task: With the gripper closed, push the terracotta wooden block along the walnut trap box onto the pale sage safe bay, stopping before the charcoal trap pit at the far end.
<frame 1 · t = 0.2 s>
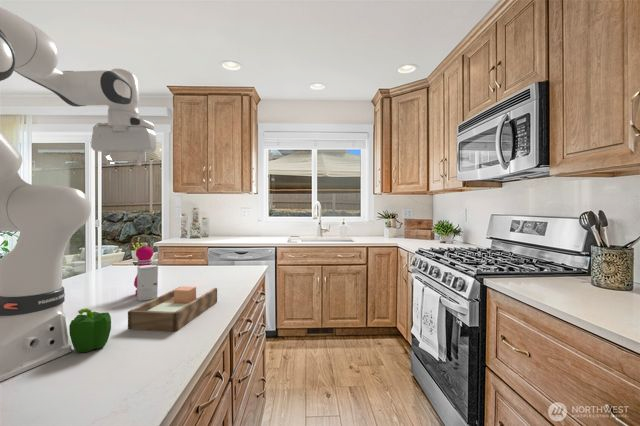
hand: (123, 165, 106), 47 cm above the counter, fingers open, 8 cm apart
bell pepper: (90, 348, 78), on the counter
skincare box: (147, 299, 120), on the counter
pepper mill: (144, 294, 127), on the counter
block: (185, 300, 108), point 3 cm above the counter, touching trap box
trap box: (178, 313, 104), on the counter
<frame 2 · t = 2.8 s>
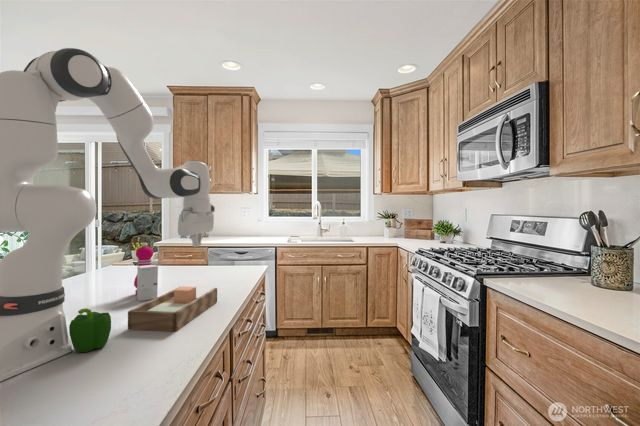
hand: (196, 246, 116), 20 cm above the counter, fingers closed
nothing on the counter moved.
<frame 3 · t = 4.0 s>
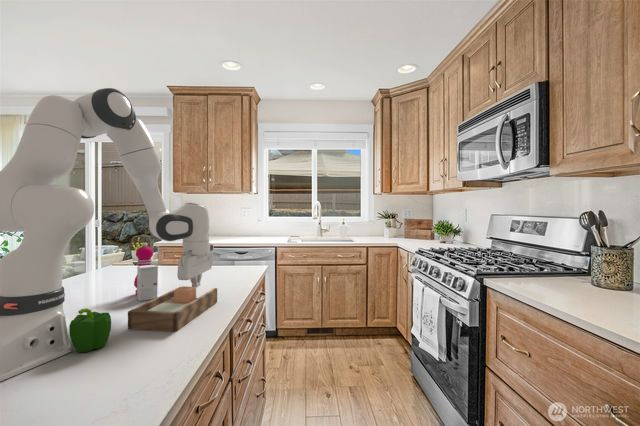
hand: (196, 287, 116), 5 cm above the counter, fingers closed
nothing on the counter moved.
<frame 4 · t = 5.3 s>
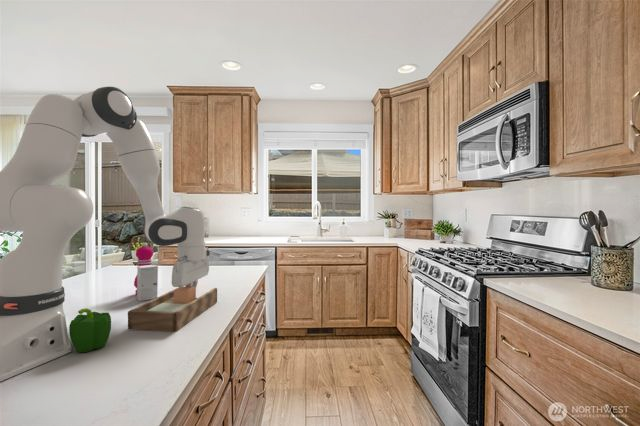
hand: (191, 293, 112), 4 cm above the counter, fingers closed
block: (185, 300, 108), point 3 cm above the counter, touching gripper
everything else where it was.
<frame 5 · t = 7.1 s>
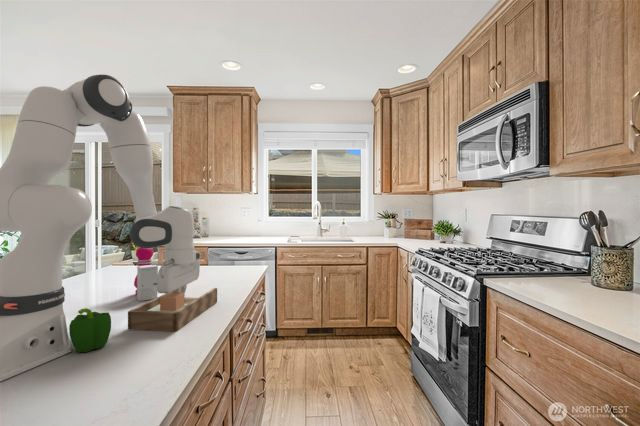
hand: (179, 300, 104), 4 cm above the counter, fingers closed
block: (172, 308, 100), point 3 cm above the counter, touching gripper, trap box
everything else where it was.
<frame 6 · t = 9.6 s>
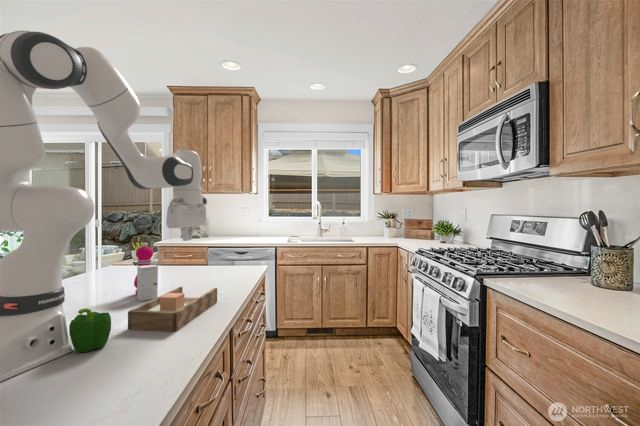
hand: (187, 240, 109), 23 cm above the counter, fingers closed
block: (172, 308, 100), point 3 cm above the counter, touching trap box
everything else where it was.
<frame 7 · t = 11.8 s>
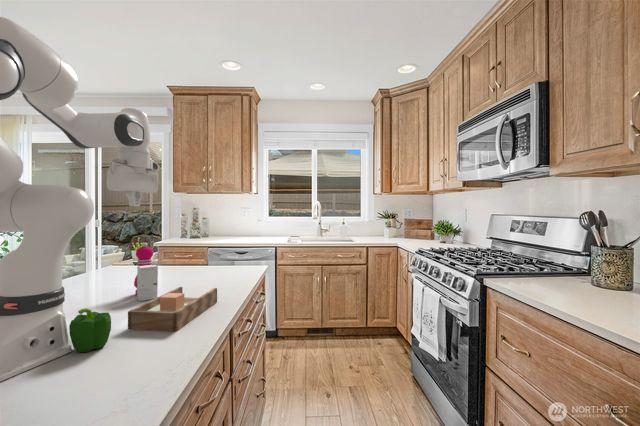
hand: (134, 206, 103), 34 cm above the counter, fingers closed
nothing on the counter moved.
at the end: block inside the target area on the trap box (1.4 cm from its centre), point 3.0 cm above the trap box's base; block tilted 0° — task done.
